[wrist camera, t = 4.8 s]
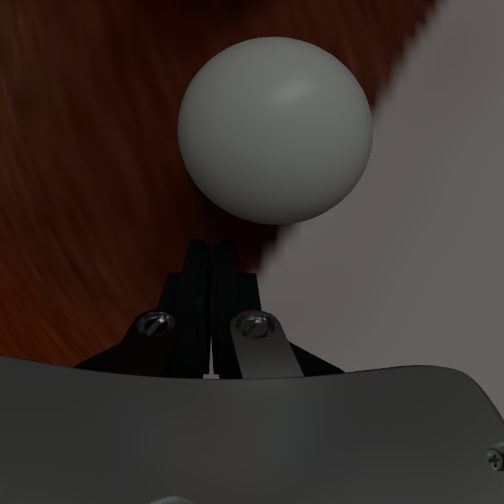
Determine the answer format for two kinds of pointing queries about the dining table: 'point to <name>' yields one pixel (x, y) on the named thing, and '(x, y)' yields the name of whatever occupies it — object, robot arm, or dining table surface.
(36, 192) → the dining table surface
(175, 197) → the dining table surface
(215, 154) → the cue ball
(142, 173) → the dining table surface
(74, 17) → the dining table surface
